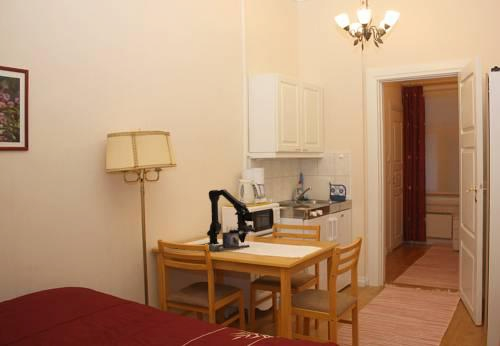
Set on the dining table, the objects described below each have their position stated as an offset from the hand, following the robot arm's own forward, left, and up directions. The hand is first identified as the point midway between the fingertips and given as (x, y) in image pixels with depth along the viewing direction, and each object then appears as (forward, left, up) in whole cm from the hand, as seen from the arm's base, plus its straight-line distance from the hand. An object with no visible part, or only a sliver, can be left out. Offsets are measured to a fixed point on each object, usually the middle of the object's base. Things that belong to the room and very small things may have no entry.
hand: (242, 242), depth 336 cm
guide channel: (0, -12, -2) cm, 13 cm away
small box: (0, -10, -2) cm, 10 cm away
